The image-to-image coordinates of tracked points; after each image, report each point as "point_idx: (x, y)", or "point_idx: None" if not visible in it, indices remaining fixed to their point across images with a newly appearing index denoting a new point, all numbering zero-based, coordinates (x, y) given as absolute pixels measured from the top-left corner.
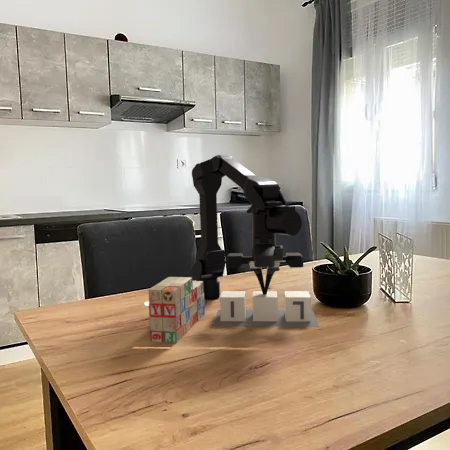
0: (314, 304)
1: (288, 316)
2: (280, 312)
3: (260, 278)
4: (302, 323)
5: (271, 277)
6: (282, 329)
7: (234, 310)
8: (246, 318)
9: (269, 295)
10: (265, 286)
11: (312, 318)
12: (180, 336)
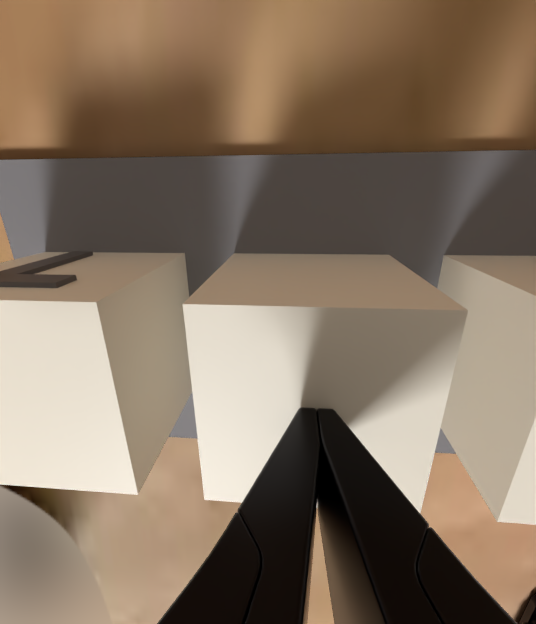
0: (78, 513)
1: (157, 259)
2: None
3: (441, 607)
4: (85, 213)
5: (177, 608)
6: (203, 122)
7: None
8: None
9: (268, 375)
10: (312, 463)
11: None
12: None
